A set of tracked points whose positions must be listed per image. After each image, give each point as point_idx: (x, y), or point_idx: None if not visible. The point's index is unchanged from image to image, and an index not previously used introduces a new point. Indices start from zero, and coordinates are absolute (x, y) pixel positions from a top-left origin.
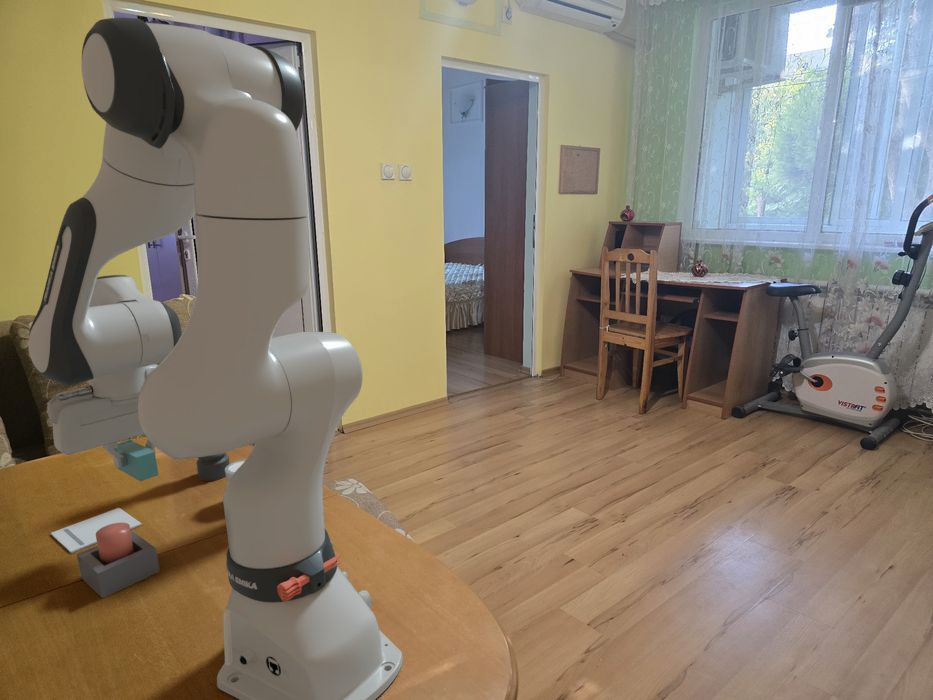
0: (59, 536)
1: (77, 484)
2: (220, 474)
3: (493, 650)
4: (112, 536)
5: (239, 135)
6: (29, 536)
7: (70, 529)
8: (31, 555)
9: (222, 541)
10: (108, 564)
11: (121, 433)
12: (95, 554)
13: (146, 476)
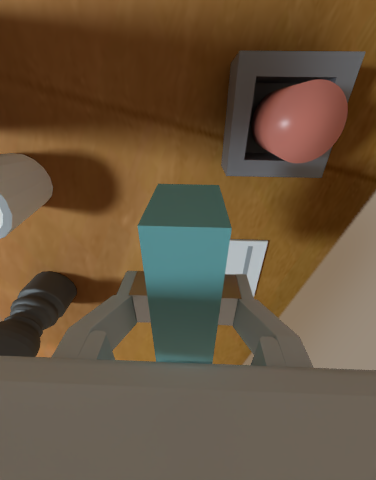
0: (253, 283)
1: None
2: (46, 276)
3: None
4: (333, 85)
5: None
6: (266, 306)
7: None
8: (290, 270)
9: (105, 67)
10: (328, 76)
11: (266, 412)
12: None
13: (196, 188)
